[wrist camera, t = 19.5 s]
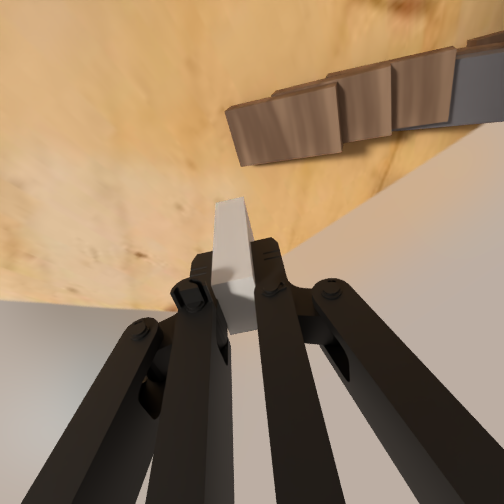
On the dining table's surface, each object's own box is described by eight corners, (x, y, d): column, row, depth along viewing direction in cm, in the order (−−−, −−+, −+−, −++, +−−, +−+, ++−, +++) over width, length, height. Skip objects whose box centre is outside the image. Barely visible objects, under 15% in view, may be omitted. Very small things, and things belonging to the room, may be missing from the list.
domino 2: (283, 152, 34) (391, 135, 30) (271, 95, 31) (390, 66, 27) (287, 146, 36) (390, 128, 31) (275, 90, 32) (389, 62, 28)
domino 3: (331, 138, 34) (448, 121, 30) (325, 77, 30) (456, 48, 26) (333, 132, 35) (444, 115, 31) (327, 73, 32) (452, 46, 28)
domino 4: (384, 132, 34) (508, 120, 30) (388, 70, 30) (529, 47, 26) (384, 126, 35) (502, 115, 31) (388, 66, 32) (521, 45, 28)
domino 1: (240, 166, 35) (341, 152, 30) (224, 111, 31) (335, 86, 27) (246, 159, 36) (343, 144, 32) (231, 106, 33) (337, 81, 28)
